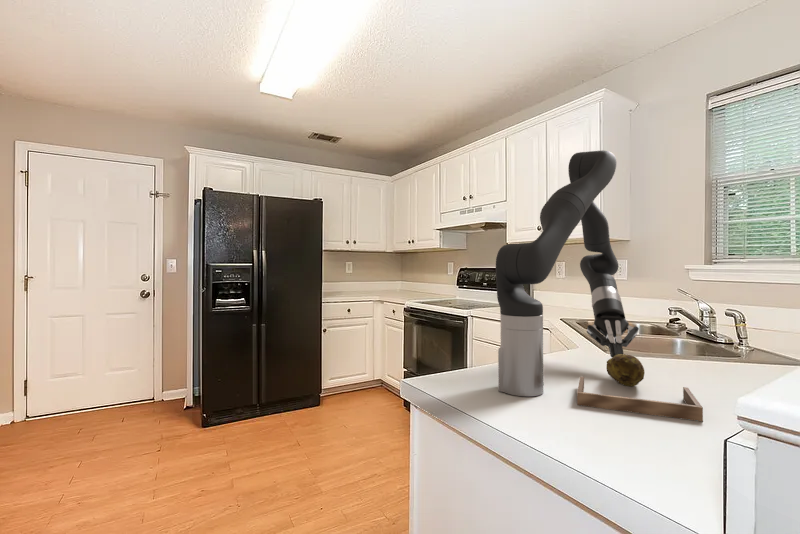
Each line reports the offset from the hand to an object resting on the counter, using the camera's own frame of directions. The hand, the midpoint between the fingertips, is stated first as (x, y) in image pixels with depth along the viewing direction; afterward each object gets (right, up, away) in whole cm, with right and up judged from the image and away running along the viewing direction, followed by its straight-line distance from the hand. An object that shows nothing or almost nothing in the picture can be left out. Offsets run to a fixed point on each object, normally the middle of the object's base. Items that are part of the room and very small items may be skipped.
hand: (617, 358), depth 103 cm
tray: (-7, -5, -19) cm, 21 cm away
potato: (-3, -5, -8) cm, 10 cm away
